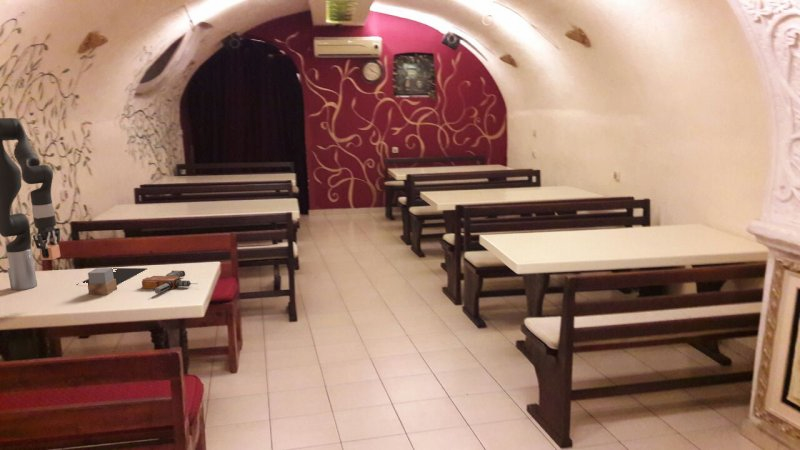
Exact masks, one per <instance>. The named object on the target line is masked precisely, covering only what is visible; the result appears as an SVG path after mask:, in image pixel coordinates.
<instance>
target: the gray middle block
mask: <svg viewBox="0 0 800 450" xmlns="http://www.w3.org/2000/svg"><path fill="white" fill-rule="evenodd" d="M112 268H113V267H97V268H94V269H92V270H91V271H89V272H88V273H87V276H88V279H89V284H107V283H108V282H110V281H111V280H113V279H114V276H113V269H112Z"/></svg>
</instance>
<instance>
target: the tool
mask: <svg viewBox="0 0 800 450" xmlns="http://www.w3.org/2000/svg"><path fill="white" fill-rule="evenodd" d="M185 276H186V272H185V270H171V272H169V273H166V274H165V275H153V276H149V277H148V276H147V277H145V278H143V279H142V280H141V288H142V289H143V290H144V289H151V290H152V289H153V290H154V293H155V294H157V295H159V294H161V293H163V292H165V291H167V290H169V289H170V290H171V289H172V290H173V289H176V288H178V287H185V288H187V287H188V288H189V287H190V286H191V285H197V283H196V282H195V283H191V281H190V280H183V279H184V277H185Z"/></svg>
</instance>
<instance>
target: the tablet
mask: <svg viewBox="0 0 800 450" xmlns="http://www.w3.org/2000/svg"><path fill="white" fill-rule="evenodd" d="M112 268H113V269H117V270H115V271H116V272H113V276H114V279H116V284H117V286H119V285H121V284H122V282H123V283H124V281H125V282H126V281H128V280H131V279H132V278H134V277H136V276H138V275H139V273H140V274H141V272H142V273H144V272H145V270H146V271H147V270H148V268H146V267H143V268H141V267H131V268H129V267H126V268H125V267H124V268H123V267H122V268H121V267H120V268H119V267H112ZM143 271H144V272H143ZM137 274H138V275H137ZM82 282H83V283H85V282H86V283H88V284H89V278H87V279H85V280H83V281H82ZM78 284H79V283H77V284H76V285H78Z"/></svg>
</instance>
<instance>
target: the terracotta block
mask: <svg viewBox="0 0 800 450" xmlns="http://www.w3.org/2000/svg"><path fill="white" fill-rule="evenodd" d="M47 249H48V253H49V258H43V256H42V250H41V249H38V250H39V255H40V260H41V261H47V260H49V261H50V260H52V261H53V260H55V259H56V260H57V259H58V258H60V257H61V250H60V244H57V245H50V244H48V248H47Z"/></svg>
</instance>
